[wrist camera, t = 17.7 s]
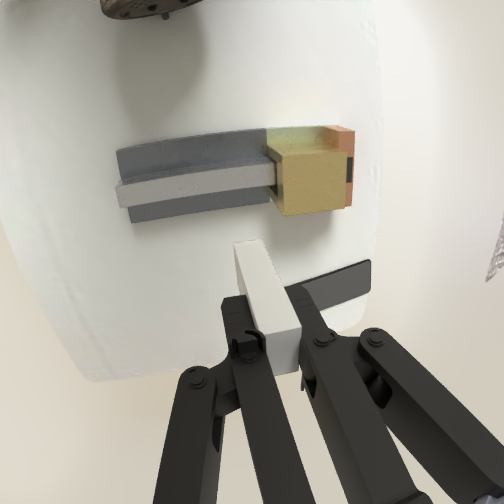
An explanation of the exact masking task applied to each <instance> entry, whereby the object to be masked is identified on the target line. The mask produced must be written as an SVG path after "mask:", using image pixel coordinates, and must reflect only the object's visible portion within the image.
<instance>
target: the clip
mask: <svg viewBox="0 0 504 504" xmlns="http://www.w3.org/2000/svg"><path fill="white" fill-rule="evenodd" d="M267 149H268V156H270V157H271V158H272V159H273V160H274V161H276V162H277V184H278V186H276V187H269V189H270V198H271V199H272V200H273V202H274V203H275V204H276V206H277V207H278V208H279V210H280V211H281V213H282V214H283V215H284V216H289V215H296V214H304V213H312V212H320V211H328V210H336V209H344V208H345V192H346V171H347V152H346V151H344V150H342V149H340V148H338V147H335V146H333V145H331V144H329V143H326V142H324V141H320V142H301V143H285V144H272V145H267Z"/></svg>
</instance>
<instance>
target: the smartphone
mask: <svg viewBox="0 0 504 504" xmlns="http://www.w3.org/2000/svg"><path fill="white" fill-rule="evenodd" d="M297 284H300V285H302V286H303V287H304V288H306V289H307V290H308V292H309V294H310V295H311V297H312V299H313V301H314V303H315V305H316V307H317V308H318V310H319V311H320V310H323V309H326V308H329V307H331V306H334V305H337V304H339V303H342V302H345V301H347V300H350V299H352V298H355V297H358V296H360V295H363V294H365V293H368V292H369V291H370V289H371V261H370V260H369V259H367V260H364V261H361V262H358V263H355V264H352V265H350V266H347V267H344V268H341V269H338V270H335V271H332V272H329V273H326V274H324V275H321V276H318V277H315V278H311V279H308V280H305V281H302V282H299V283H296V284H293V285H297ZM290 286H291V285H290Z"/></svg>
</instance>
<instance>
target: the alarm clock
mask: <svg viewBox="0 0 504 504" xmlns="http://www.w3.org/2000/svg"><path fill="white" fill-rule="evenodd" d="M201 1H203V0H100V3H101V9H102V12H103V13H104V15H106V16H107V17H109V18H112V19H120V20H127V19H137V18H143V17H148V16H153V15H158V14H161V15H162V18H163V19H164V20H167V19H168V18H169V15H168V12H170V11H174V10H177V9H181V8H184V7H187V6H190V5H193V4H196V3H198V2H201Z"/></svg>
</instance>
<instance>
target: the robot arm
mask: <svg viewBox="0 0 504 504" xmlns="http://www.w3.org/2000/svg"><path fill="white" fill-rule="evenodd" d="M233 246H234V255H235V264H236V273H237V282H238V287H239V291H240V295H239V296H233V297H227V298H224V299H223V302H222V305H221V310H222V316H223V322H224V327H225V333H226V338H227V343H228V349H229V352H228V355H227V357H226V358H225V360H224V361H223V362H221V363H220V364H218V365H216V366H214V367H212V368H210V369H209V368H207V367H203V366H194V367H191V368H188V369H186V370H185V371H184V372H183V373H182V374H181V376H180V378H179V381H178V385H177V390H176V394H175V398H174V403H173V407H172V412H171V416H170V420H169V425H168V430H167V434H166V439H165V444H164V448H163V453H162V458H161V463H160V468H159V473H158V478H157V483H156V489H155V494H154V499H153V504H216V500H217V491H218V481H219V471H220V462H221V452H222V443H223V433H224V424H225V415H227V414H229V413H231V412H233V411H235V410H237V409H239V408H241V412H242V417H243V421H244V426H245V430H246V434H247V439H248V443H249V447H250V451H251V456H252V460H253V464H254V468H255V472H256V476H257V480H258V484H259V488H260V492H261V496H262V500H263V504H316V503H315V500H314V497H313V494H312V491H311V488H310V485H309V482H308V479H307V476H306V473H305V470H304V467H303V464H302V461H301V458H300V455H299V452H298V449H297V446H296V443H295V440H294V437H293V434H292V431H291V428H290V424H289V421H288V418H287V415H286V412H285V409H284V406H283V403H282V400H281V397H280V393H279V390H278V388H277V384H276V381H275V378H274V376H278V375H283V374H287V373H291V372H296V371H298V369H299V365H300V368H301V370H302V380H301V391H304V387H305V389H306V392H307V395H308V398H309V400H310V403H311V405H312V408H313V411H314V413H315V416H316V419H317V421H318V424H319V427H320V429H321V432H322V435H323V437H324V440H325V443H326V445H327V448H328V451H329V453H330V456H331V458H332V461H333V464H334V466H335V469H336V472H337V474H338V477H339V479H340V482H341V485H342V487H343V490H344V493H345V495H346V498H347V501H348V503H349V504H433V502H432V500H431V499H430V497H429V496H428V495H427V494H426V493H424V492H421V491H419V490H418V489H417V488H416V486H415V485H414V483H413V480H412V478H411V476H410V474H409V472H408V470H407V468H406V466H405V464H404V462H403V460H402V457H401V455H400V453H399V451H398V449H397V447H396V445H395V443H394V441H393V439H392V437H391V435H390V433H389V431H388V429H387V427H388V428H389V429H390V430H391V431H392V432H393V434H394V435H395V436H396V437H397V438H398V439H399V440H400V441H401V443H402V444H403V445H404V446H405V447H406V448H407V450H409V452H410V453H411V454H412V455H413V456H414V458H415V459H416V460H417V461H418V462H419V463H420V464H421V465H422V466H423V468H424V469H425V470H426V471H427V472H428V473H429V474H430V476H431V477H432V478H433V479H434V480H435V481H436V482H437V483H438V484H439V486H440V487H441V488H442V489H443V490H444V491H445V492H446V493H447V495H448V496H449V497H450V498H452V500H453V501H454V502H456V503H457V504H504V446H503V445H502V444H501V443H500V442H499V441H498V440H497V439H496V438H495V437H494V436H493V435H492V434H491V433H490V432H489V431H488V430H487V429H486V427H484V426H483V424H481V422H480V421H478V420H477V418H476V417H475V416H474V415H473V414H472V413H471V412H470V411H469V410H468V409H467V408H466V407H464V405H463V404H462V403H461V402H459V401H458V400H457V398H455V397H454V396H453V395H452V394H451V393H450V392H449V391H448V390H447V389H446V388H445V387H444V386H443V385H442V384H441V383H440V382H439V381H438V380H437V379H436V378H435V377H434V376H433V375H432V374H431V373H430V372H429V371H428V370H427V369H426V368H424V367H423V366H422V365H421V364H420V363H419V362H418V361H417V360H416V359H415V358H414V357H413V356H412V355H411V354H410V353H409V352H408V351H407V350H406V349H404V348H403V347H402V346H401V345H400V344H399V343H398V342H397V341H396V340H395V339H393V337H392V336H391V335H389V334H388V333H387V332H386V331H384V330H383V329H379V328H368V329H365V330H364V331H363V332H362V333H361V335H360V337H346V336H340V335H338V334H337V333H336V332H335V331H333V330H331V329H329V328H328V327H327V325H326V323H325V321H324V319H323V318H322V316H321V314H320V312H319V310H318V308H317V307H316V305H315V303H314V301H313V299H312V297H311V295H310V294H309V292H308V290H307V289H306V288H304V287H303V286H302V285H300V284H297V285H291V286H286V287H283V284H282V282H281V280H280V278H279V276H278V274H277V271H276V269H275V267H274V265H273V263H272V261H271V258H270V256H269V254H268V252H267V250H266V248H265V245H264V243H263V241H262V239H257V240H251V241H244V242H238V243H233ZM385 424H386V425H385ZM386 426H387V427H386Z"/></svg>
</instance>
